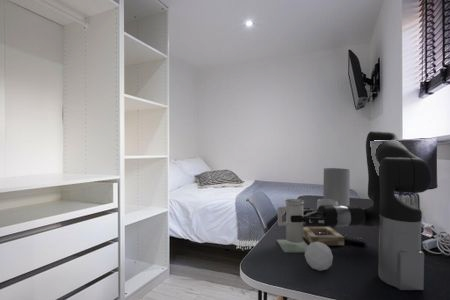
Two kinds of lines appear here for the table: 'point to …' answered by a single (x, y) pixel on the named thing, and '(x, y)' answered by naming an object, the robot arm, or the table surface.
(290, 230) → the jug
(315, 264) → the geometric ball
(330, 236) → the stand
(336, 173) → the cylinder vase
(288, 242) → the mat
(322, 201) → the mug
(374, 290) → the table surface
